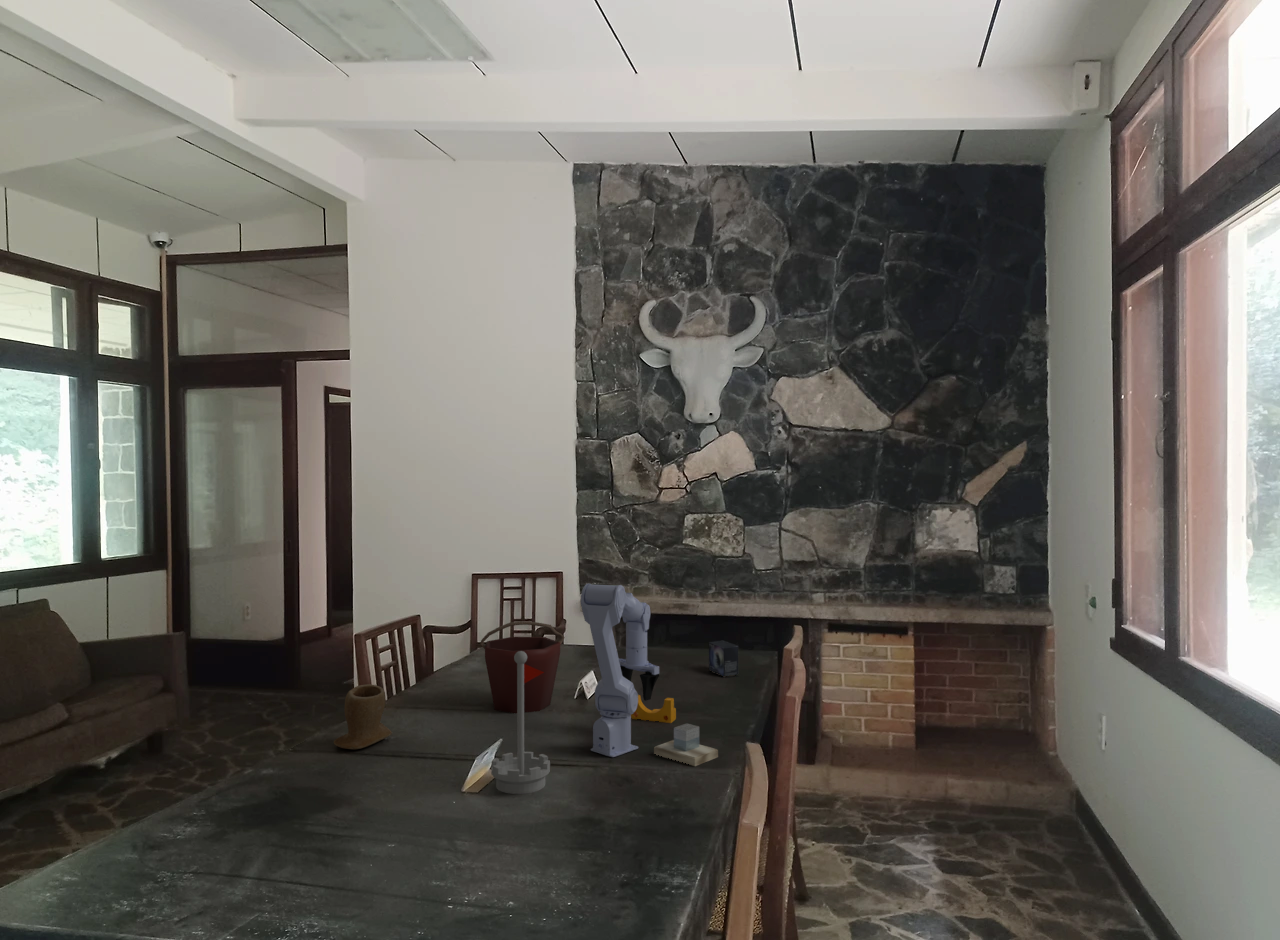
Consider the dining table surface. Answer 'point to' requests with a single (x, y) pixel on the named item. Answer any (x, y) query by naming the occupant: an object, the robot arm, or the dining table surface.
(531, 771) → the flag stand
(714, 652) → the small box
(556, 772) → the dining table surface
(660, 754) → the cream flat block
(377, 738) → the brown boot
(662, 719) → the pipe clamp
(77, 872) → the dining table surface
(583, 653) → the dining table surface
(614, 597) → the robot arm
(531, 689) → the bucket
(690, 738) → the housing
